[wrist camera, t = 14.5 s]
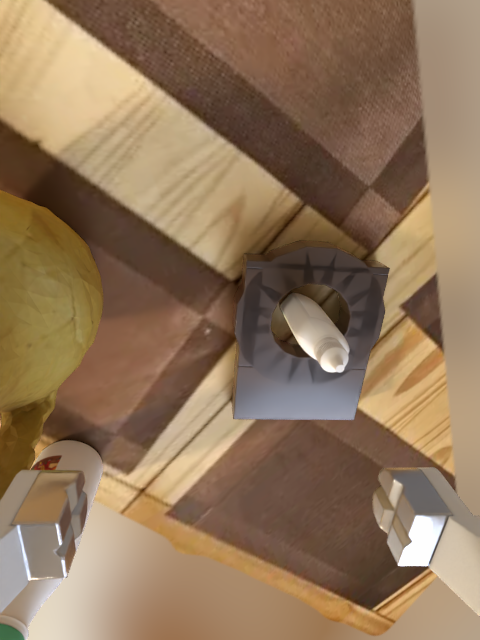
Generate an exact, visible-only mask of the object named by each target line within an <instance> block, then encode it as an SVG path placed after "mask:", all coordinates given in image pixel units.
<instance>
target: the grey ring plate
mask: <svg viewBox="0 0 480 640" xmlns="http://www.w3.org/2000/svg"><path fill="white" fill-rule="evenodd" d="M389 269H390V268H388V267H387V266H385V265H383V264H381V263H380V262H378V261H373V260H360V259H359V258H357V257H355V256H354V255H352V254H350V253H348V252H346V251H344V250H343V249H341V248H339V247H337V246H335V245H333V244H331V243H329V242H317V241H296V242H293V243H291V244H288V245H285V246H282V247H279V248H276V249H273V250H271V251H269V252H268V253H267V254H266V255H265V254H246V253H244V255H243V268H242V280H241V284H240V286H239V288H238V290H237V292H236V294H235V296H234V310H233V327H234V333H235V336H236V339H237V343H236V356H235V368H234V381H233V393H232V410H233V419H297V420H354V418H355V414H356V410H357V405H358V401H359V397H360V393H361V388H362V384H363V380H364V376H365V371H366V367H367V363H368V359H369V355H370V350H371V349H372V347H373V346H374V344H375V343H376V341H377V340H378V338H379V335H380V331H381V327H382V323H383V319H384V314H385V307H384V301H383V295H384V291H385V287H386V282H387V278H388V273H389ZM307 284H320V285H326V286H328V287H330V288H332V289H334V290H335V291H336V292H337V293H338V297H339V302H340V306H341V307H340V312H339V317H338V321H337V322H336V324H335V326H336V327H337V328H338V330H339V331H340V332H341V333H342V335H343V336H344V338H345V339H346V341H347V343H348V345H349V353H348V358H349V360H348V363H347V364H346V366H345V367H344V371H343V372H340V373H339V372H333V373H332V372H327V371H325V370H323V369H322V367H321V366H320V364H319V362H318V361H317V360H316V359H314V358H312V357H311V356H310V355H308V354H307V353H306V352H305V351H304V350H303V349H302V347H301V346H300V345H291V344H289V343H287V342H284V341H282V340H280V339H278V337H277V336H276V335H275V334H274V333H273V332H272V331H271V320H272V313H273V311H274V310H275V308H276V306H277V304H278V303H279V301H280V299H281V298H283V297H284V296H285V295H286V294H288V293H289V292H290V291H291V290H292V289H295V288H298V287H301V286H304V285H307Z"/></svg>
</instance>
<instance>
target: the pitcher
mask: <svg viewBox="0 0 480 640" xmlns="http://www.w3.org/2000/svg"><path fill="white" fill-rule="evenodd" d="M102 310H103V291H102V284H101V276H100V274H99V271H98V268H97V266H96V263H95V260H94V258H93V257H92V255H91V252H90V249H89V247H88V246H87V243H86V242H85V241H84V240H83V239H82V238H81V237H80V236H79V235H78V234H77V233H76V232H75V231H74V230H72V229H71V228H70V227H69V226H68V225H67V224H66V223H64V222H63V221H62V220H61V219H59V218H58V217H57V216H55V215H54V214H53V213H52V212H51V211H50V210H48V209H47V208H46V207H42V206H38V205H36V204H34V203H33V202H30V201H27V200H24V199H21V198H18V197H16V196H14V195H11V194H9V193H6V192H4V191H2V190H0V413H1V427H0V500H1V499H2V497H3V496H4V494H5V492H6V491H7V489H8V487H9V486H10V484H11V482H12V481H13V479H14V478H15V476H16V474H18V473H19V472H20V471H21V470H30V468H31V466H32V464H33V462H34V460H35V451H34V448H35V446H36V445H37V443H38V441H39V440H40V437H41V435H42V433H43V423H44V422H45V421H46V419H47V418H48V416H49V415H50V413H51V412H52V411H53V410H54V407H55V400H56V395H57V390H58V388H59V387H60V385H61V384H62V383H63V382H64V381H65V380H66V379H67V378H68V376H69V375H70V374H71V373H72V372H73V371H74V370H75V369H76V368H77V367H78V366H79V365H80V363H81V361H82V358H83V356H84V355H85V353H86V352H87V350H88V349H89V347H90V346H91V345H92V344H93V342H94V339H95V336H96V333H97V329H98V325H99V321H100V319H101V316H102Z"/></svg>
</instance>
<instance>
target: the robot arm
mask: <svg viewBox="0 0 480 640" xmlns="http://www.w3.org/2000/svg"><path fill="white" fill-rule="evenodd" d="M378 480H379V482H380V484H381V485H380V486H379V487H378V488H377V489H376V490H375V491H374V495H373V499H372V503H373V512H374V516H375V519H376V521H377V523H378V525H379V527H380V528H381V529H383V530H384V531H385V532H386V533H387V534H388V537H387V541H386V542H387V544H388V546H389V548H390V550H391V552H392V554H393V557H394V559H395V561H396V563H397V565H398V566H429V568H430V569H431V570H432V571H433V572H434V573H435V574H436V575H437V576H438V577H439V578H440V579H441V580H442V581H443V582H444V583H445V584H446V585H447V586H448V587H450V588H451V589H452V590H453V591H454V592H455V593H456V594H457V595H458V596H459V597H460V598H461V599H462V600H463V601H464V602H465V603H466V604H467V605H468V606H469V607H470V608H471V609H472V610H473V611H474V612H475V613H476V614H478V615H479V616H480V516H473V514H472V513H471V512H470V511H469V509H468V508H467V507H466V505H465V504H464V503H463V501H462V500H461V499H460V497H459V496H458V495H457V494H456V492H455V491H454V490H453V488H452V487H451V486H450V484H449V483H448V482H447V481H446V479H445V478H444V477H443V475H442V474H441V473H440V471H439V470H437V469H436V468H434V467H427V468H383V469H382V470H381V471H380V473H379V477H378ZM85 482H86V481H85V474H84V471H82V470H21V471H20V472H19V473H18V474H16V476H15V478H14V479H13V481H12V482H11V484H10V486H9V487H8V489H7V491H6V492H5V494H4V496H3V497H2V499H1V500H0V613H1V612H2V611H3V610H4V609H5V608H6V607H7V606H8V605H9V604H10V603H11V601H12V600H13V599H14V598H15V597H16V596H17V595H18V594H19V593H20V592H21V591H22V590H23V589H24V587H25V586H26V585H27V584H28V583H29V581H28V580H42V579H57V578H67V575H68V573H69V570H70V567H71V564H72V561H73V558H74V555H75V552H76V547H75V540H76V539H77V538H78V537H79V536H80V535H81V534H82V531H83V528H84V525H85V521H86V515H87V506H88V500H87V494H86V493H85V492H84V491H83V487H84V484H85Z"/></svg>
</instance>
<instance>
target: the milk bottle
mask: <svg viewBox="0 0 480 640" xmlns="http://www.w3.org/2000/svg"><path fill="white" fill-rule="evenodd" d="M31 470H82V471H84V474H85V481H86V482H85V484H84V487H83V491H84V492H85V493H86V494H87V500H88V506H87V515H86V521H85V525H86V522H87V519H88V516H89V513H90V510H91V507H92V504H93V501H94V498H95V495H96V492H97V489H98V486H99V483H100V480H101V476H102V473H103V463H102V459H101V458H100V455H99V454H98V453H97V451H96V450H94V449H93V448H92V447H90V446H89V445H87V444H84V443H82V442H78V441H72V440H66V441H59V442H56V443H53V444H51V445H49V446H48V447H46V448H45V449H44V450H43V451H42V452H41V453H40V454H39V456H38V458H37V459H36V461H35V463H34V464H33V466H32V468H31ZM85 525H84V528H85ZM84 528H83V531H84ZM83 531H82V534H83ZM82 534H81V535H80V536H79V537H78V538H77V539H76V540H75V547H76V551H77V548H78V546H79V543H80V540H81V537H82ZM75 554H76V552H75ZM74 556H75V555H74ZM73 559H74V558H73ZM62 580H63V578H57V579H42V580H28V581H29V583H28V584H27V585H26V586H25V587H24V589H23V590H22V591H21V592H20V593H19V594H18V595H17V596H16V597H15V598H14V599H13V600H12V601H11V603H10V604H9V605H8V606H7V607H6V608H5V609H4V610H3V611H2V612H1V613H0V640H27V638H28V635H29V634H28V627H29V624H30V622H31V621H32V619H33V618H34V616H35V614H36V613H37V611H38V610H39V609H40V607H41V606H42V604H43V603H44V602H45V601H46V600H47V599H48V597H49V596H50V595H51V594H52V593H53V592H54V590H55V589H56V588H57V587H58V585H59V584H60V583H61V581H62Z"/></svg>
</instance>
